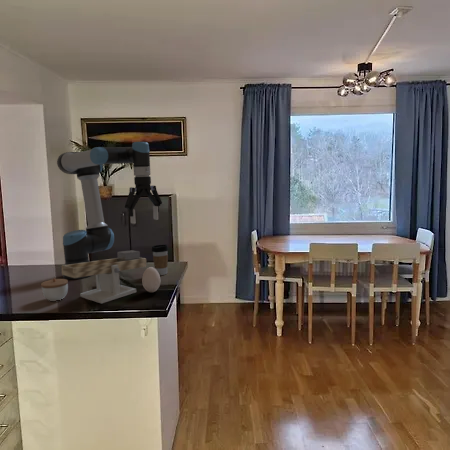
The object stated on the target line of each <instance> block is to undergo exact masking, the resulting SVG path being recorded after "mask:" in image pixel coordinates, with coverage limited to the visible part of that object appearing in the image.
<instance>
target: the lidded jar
mask: <svg viewBox="0 0 450 450" xmlns="http://www.w3.org/2000/svg"><path fill="white" fill-rule="evenodd" d="M68 283H69V279H65V278H55V277H54V278H52V279H49V280H45V281H43V282H41V284H40V287H41V291H42V295H43V297H44V298H45V299H46V300H47V301H49V300H50V301H55V300H60V301H62V300H61V299H63V298H65V297H66V296H67V294H68V291H69V284H68ZM63 300H64V299H63ZM50 301H49V302H50Z"/></svg>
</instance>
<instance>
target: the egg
mask: <svg viewBox="0 0 450 450" xmlns="http://www.w3.org/2000/svg"><path fill="white" fill-rule="evenodd" d="M141 281H142V282H141V284H142V286H143V288H144V289H145V291H147V292H148V293H155V292H156V291H157V290H158V289H159V288H160V286H161V281H162V280H161V275H159V273H158V271H157V270H156V269H155V267H153V266H150V267H147V268H146V269H145V270H144V272H143V274H142V277H141Z"/></svg>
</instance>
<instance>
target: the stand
mask: <svg viewBox="0 0 450 450" xmlns="http://www.w3.org/2000/svg"><path fill="white" fill-rule="evenodd" d="M111 269H112V272H109V273H103V274H97V275H95V283H96V284H95V285H96V288H94V289H91V290H87V291H84V292H80V298H83V299H86V300H90V301H93V302H96V303H99V304H105V303H108V302H111V301H113V300H117V299H119V298H122V297H126V296H129V295H131V294H132V295H133V294H135V293H137V288H135V287H131V286H127V285H122V284H120V270H119V268H118V265H113V266H111Z"/></svg>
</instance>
